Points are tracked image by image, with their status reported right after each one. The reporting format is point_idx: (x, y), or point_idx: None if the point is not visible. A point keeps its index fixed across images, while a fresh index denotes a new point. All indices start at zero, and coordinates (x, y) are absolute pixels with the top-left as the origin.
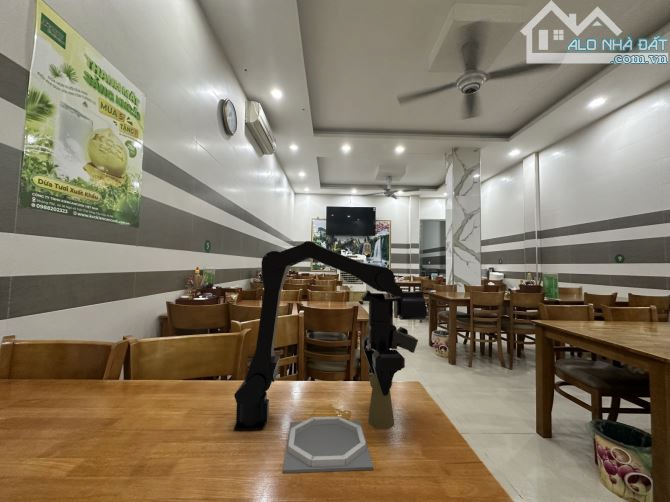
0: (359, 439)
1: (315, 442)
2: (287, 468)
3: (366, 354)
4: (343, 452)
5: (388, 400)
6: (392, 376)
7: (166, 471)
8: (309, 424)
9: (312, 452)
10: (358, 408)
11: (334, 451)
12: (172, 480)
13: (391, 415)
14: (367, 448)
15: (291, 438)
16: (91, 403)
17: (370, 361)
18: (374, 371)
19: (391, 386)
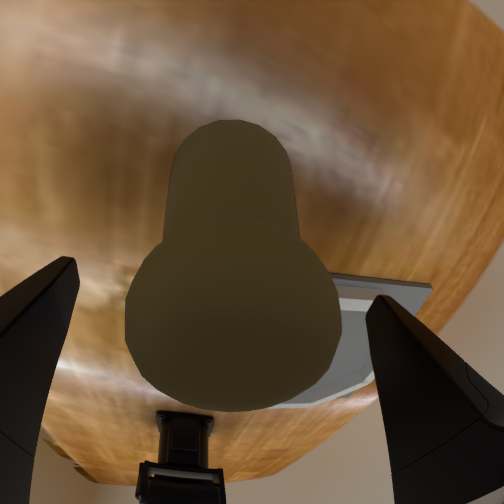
0: (359, 309)
1: None
2: (348, 393)
3: (26, 488)
4: (360, 331)
5: (294, 215)
6: (495, 397)
7: (281, 450)
8: None
9: (329, 373)
10: (102, 234)
11: (347, 345)
12: (299, 445)
13: (282, 161)
14: (378, 284)
15: (288, 406)
16: (134, 474)
17: (31, 427)
18: (55, 336)
19: (285, 230)
